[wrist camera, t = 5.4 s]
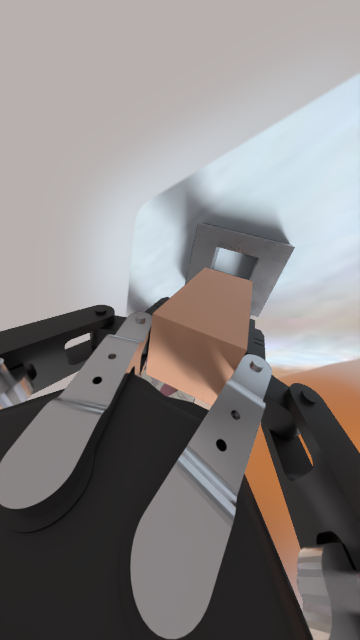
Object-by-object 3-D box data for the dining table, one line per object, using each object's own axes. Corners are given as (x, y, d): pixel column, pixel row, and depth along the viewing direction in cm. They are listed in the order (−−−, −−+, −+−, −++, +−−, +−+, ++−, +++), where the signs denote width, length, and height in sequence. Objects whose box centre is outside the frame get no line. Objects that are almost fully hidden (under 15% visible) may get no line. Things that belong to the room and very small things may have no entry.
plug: (252, 281, 14) (247, 350, 6) (234, 322, 16) (215, 407, 9) (205, 267, 15) (152, 313, 7) (194, 307, 17) (145, 374, 9)
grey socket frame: (290, 244, 21) (294, 247, 18) (257, 308, 26) (258, 317, 23) (204, 223, 23) (198, 223, 21) (189, 285, 28) (183, 291, 26)
